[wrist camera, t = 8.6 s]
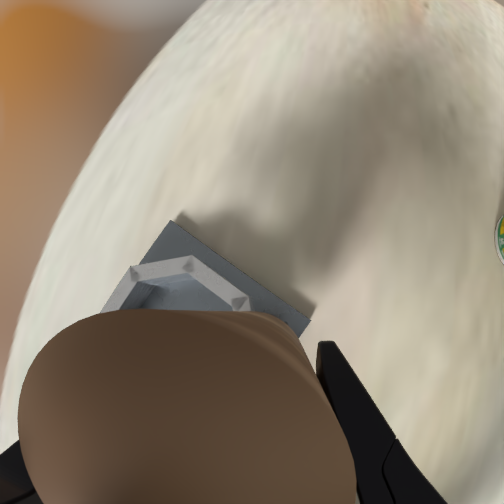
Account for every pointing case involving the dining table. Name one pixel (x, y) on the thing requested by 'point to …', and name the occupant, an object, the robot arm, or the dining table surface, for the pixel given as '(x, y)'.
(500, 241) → the supplement bottle
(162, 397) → the peg
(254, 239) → the dining table surface
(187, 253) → the dock
